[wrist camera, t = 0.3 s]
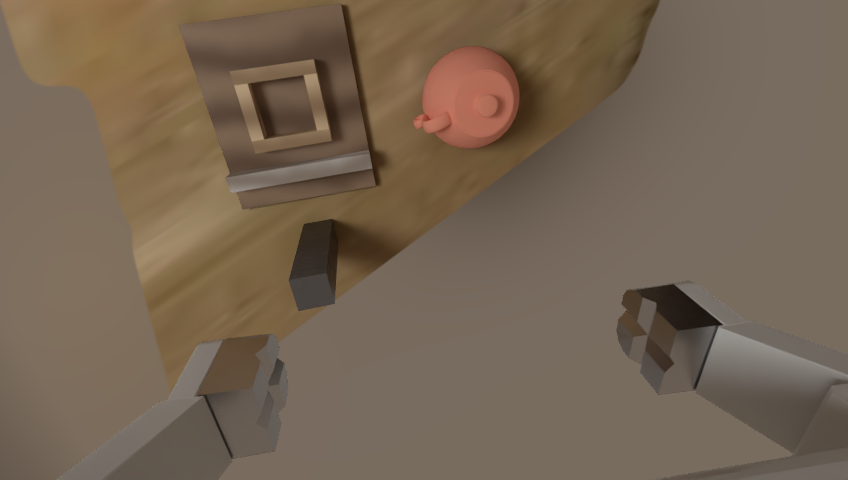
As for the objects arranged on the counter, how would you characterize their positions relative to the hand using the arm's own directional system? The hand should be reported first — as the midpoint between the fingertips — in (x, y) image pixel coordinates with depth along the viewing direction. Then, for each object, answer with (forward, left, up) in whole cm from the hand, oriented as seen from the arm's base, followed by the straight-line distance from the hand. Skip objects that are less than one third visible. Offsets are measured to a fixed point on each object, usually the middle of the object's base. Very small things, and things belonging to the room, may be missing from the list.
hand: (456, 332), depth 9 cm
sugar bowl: (+1, +12, -48) cm, 50 cm away
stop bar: (+17, -10, -48) cm, 52 cm away
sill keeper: (-1, -10, -48) cm, 49 cm away
